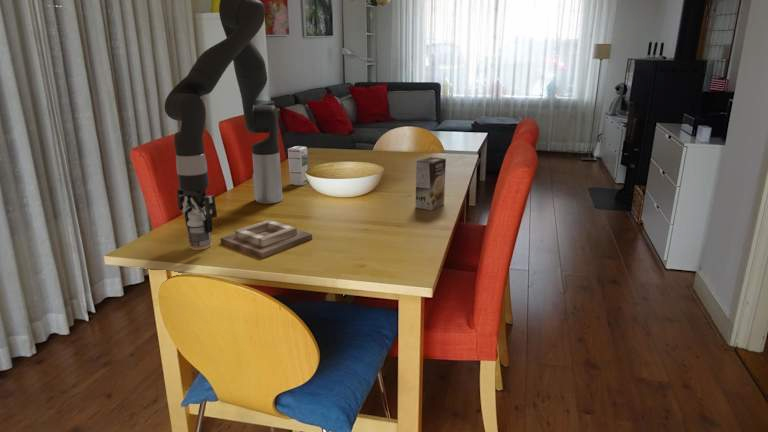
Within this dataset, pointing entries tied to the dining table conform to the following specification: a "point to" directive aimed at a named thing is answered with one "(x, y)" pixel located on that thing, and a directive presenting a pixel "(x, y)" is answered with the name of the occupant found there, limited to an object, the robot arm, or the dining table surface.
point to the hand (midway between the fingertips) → (199, 229)
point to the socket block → (266, 238)
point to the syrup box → (298, 165)
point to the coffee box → (430, 183)
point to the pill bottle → (197, 232)
